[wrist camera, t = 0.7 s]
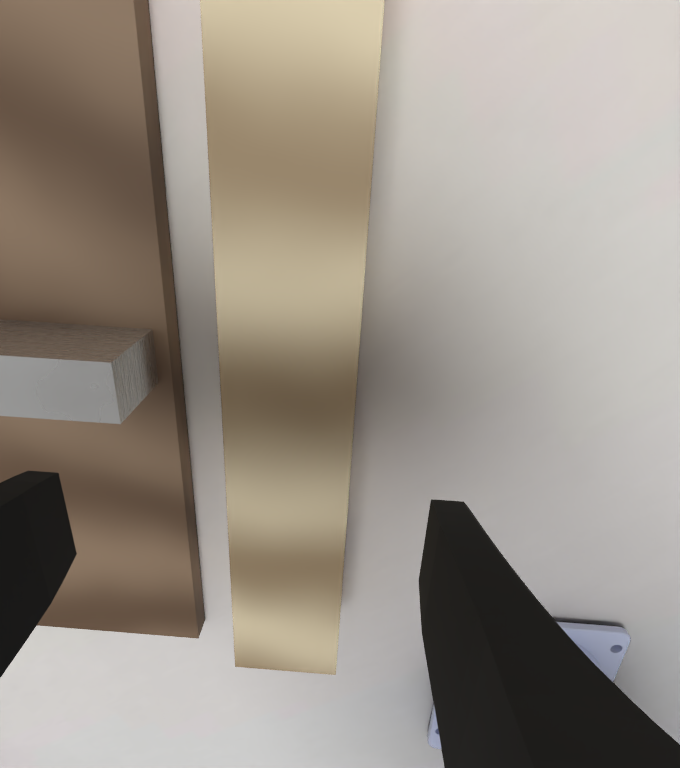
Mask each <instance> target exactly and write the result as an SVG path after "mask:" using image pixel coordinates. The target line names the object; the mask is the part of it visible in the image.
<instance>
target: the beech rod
mask: <svg viewBox="0 0 680 768" xmlns="http://www.w3.org/2000/svg"><path fill="white" fill-rule="evenodd" d="M384 1H385V0H200V7H201V26H202V45H203V64H204V83H205V102H206V121H207V140H208V159H209V178H210V197H211V216H212V235H213V254H214V273H215V292H216V310H217V329H218V348H219V367H220V386H221V405H222V424H223V443H224V462H225V481H226V500H227V519H228V538H229V557H230V576H231V595H232V614H233V633H234V652H235V667H246V668H258V669H270V670H282V671H295V672H307V673H319V674H331V675H336V663H337V649H338V636H339V622H340V608H341V594H342V580H343V567H344V553H345V539H346V525H347V511H348V498H349V484H350V470H351V456H352V442H353V429H354V415H355V401H356V387H357V373H358V360H359V346H360V332H361V318H362V304H363V291H364V277H365V263H366V249H367V235H368V222H369V208H370V194H371V180H372V166H373V153H374V139H375V125H376V111H377V97H378V83H379V70H380V56H381V42H382V28H383V14H384Z"/></svg>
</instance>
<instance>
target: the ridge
mask: <svg viewBox="0 0 680 768" xmlns="http://www.w3.org/2000/svg"><path fill="white" fill-rule="evenodd" d="M158 383H159V382H158V373H157V364H156V356H155V347H154V338H153V329H142V328H126V327H110V326H95V325H79V324H63V323H47V322H31V321H16V320H0V416H10V417H24V418H39V419H53V420H68V421H82V422H97V423H111V424H121V423H122V422H123V421H124V420H125V419H126V418H127V417H128V416H129V414H130V413H131V412H132V411H133V410H134V409H135V408H136V407H137V406H138V405H139V404H140V403H141V401H142V400H143V399H144V398H145V397H146V396H147V395H148V394H149V393H150V392H151V391H152V389H153V388H154V387H155V386H156V385H157V384H158Z"/></svg>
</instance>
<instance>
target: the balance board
mask: <svg viewBox="0 0 680 768" xmlns="http://www.w3.org/2000/svg"><path fill="white" fill-rule="evenodd" d="M0 320H16V321H31V322H47V323H63V324H79V325H95V326H110V327H126V328H142V329H153V338H154V347H155V356H156V364H157V373H158V382H159V383H158V384H157V385H156V386H155V387H154V388H153V389H152V391H151V392H150V393H149V394H148V395H147V396H146V397H145V398H144V399H143V400H142V401H141V403H140V404H139V405H138V406H137V407H136V408H135V409H134V410H133V411H132V412H131V413H130V414H129V416H128V417H127V418H126V419H125V420H124V421H123V422H122V423H121V424H111V423H97V422H82V421H68V420H53V419H39V418H24V417H10V416H0V483H1V482H3V481H5V480H7V479H9V478H11V477H14V476H16V475H18V474H21V473H23V472H26V471H41V472H55V473H59V477H60V482H61V486H62V490H63V495H64V499H65V504H66V508H67V513H68V517H69V521H70V526H71V530H72V535H73V539H74V544H75V548H76V553H77V555H76V557H75V559H74V561H73V563H72V565H71V567H70V569H69V571H68V573H67V575H66V577H65V579H64V581H63V583H62V584H61V586H60V588H59V590H58V592H57V594H56V596H55V597H54V599H53V601H52V603H51V604H50V606H49V607H48V609H47V611H46V612H45V614H44V615H43V617H42V618H41V619H40V621H39V622H38V624H37V625H40V626H53V627H65V628H77V629H90V630H102V631H114V632H127V633H139V634H151V635H164V636H176V637H188V638H199V635H200V632H201V630H202V627H203V624H204V621H205V617H204V606H203V595H202V584H201V573H200V562H199V551H198V540H197V529H196V519H195V508H194V497H193V486H192V475H191V464H190V453H189V442H188V432H187V421H186V410H185V399H184V388H183V377H182V366H181V355H180V344H179V334H178V323H177V312H176V301H175V290H174V279H173V268H172V257H171V247H170V236H169V225H168V214H167V203H166V192H165V181H164V170H163V159H162V149H161V138H160V127H159V116H158V105H157V94H156V83H155V72H154V62H153V51H152V40H151V29H150V18H149V7H148V0H0Z"/></svg>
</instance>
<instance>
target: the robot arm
mask: <svg viewBox="0 0 680 768" xmlns="http://www.w3.org/2000/svg"><path fill="white" fill-rule="evenodd" d="M76 555H77V553H76V548H75V544H74V539H73V535H72V530H71V526H70V521H69V517H68V513H67V508H66V504H65V499H64V495H63V490H62V486H61V482H60V477H59V473H55V472H41V471H26V472H23V473H21V474H18V475H16V476H14V477H11V478H9V479H7V480H5V481H3V482H1V483H0V677H1V676H2V675H3V673H4V672H5V670H6V669H7V667H8V666H9V664H10V663H11V662H12V660H13V659H14V657H15V656H16V654H17V653H18V652H19V650H20V649H21V647H22V646H23V644H24V643H25V641H26V640H27V639H28V637H29V636H30V634H31V633H32V631H33V630H34V628H35V627H36V625H37V624H38V622H39V621H40V619H41V618H42V617H43V615H44V614H45V612H46V611H47V609H48V607H49V606H50V604H51V603H52V601H53V599H54V597H55V596H56V594H57V592H58V590H59V588H60V586H61V584H62V583H63V581H64V579H65V577H66V575H67V573H68V571H69V569H70V567H71V565H72V563H73V561H74V559H75V557H76ZM419 591H420V610H421V625H422V636H423V642H424V648H425V654H426V660H427V666H428V672H429V678H430V684H431V689H432V695H433V701H434V705H433V710H432V715H431V720H430V725H429V730H428V735H427V736H428V744H429V745H430V746H431V747H433V748H437V749H442V754H443V760H444V766H445V768H680V745H679V744H678V743H677V742H676V741H675V740H674V739H673V738H672V737H670V736H669V735H668V734H667V733H666V732H665V731H664V730H663V729H661V728H660V727H659V726H658V725H657V724H656V723H655V722H654V721H653V720H652V719H650V718H649V717H648V716H647V715H646V714H645V713H644V712H643V711H642V710H641V709H640V708H639V707H638V706H637V705H635V704H634V703H633V702H632V701H631V700H630V699H629V698H628V697H627V696H626V695H625V694H624V693H623V692H622V691H621V690H620V689H619V688H618V687H617V686H616V685H615V684H614V683H613V681H614V679H615V677H616V674H617V672H618V669H619V667H620V665H621V662H622V660H623V657H624V655H625V653H626V650H627V648H628V645H629V643H630V639H631V638H630V636H629V634H628V632H627V630H626V629H624V628H622V627H617V626H605V625H592V624H579V623H566V622H556V621H555V620H554V619H553V618H552V616H551V615H550V614H549V613H548V612H547V611H546V609H545V608H544V607H543V606H542V605H541V603H540V602H539V601H538V600H537V599H536V597H535V596H534V595H533V594H532V592H531V591H530V590H529V589H528V587H527V586H526V585H525V584H524V582H523V581H522V580H521V579H520V577H519V576H518V575H517V574H516V572H515V571H514V570H513V569H512V567H511V566H510V565H509V563H508V562H507V561H506V559H505V558H504V557H503V555H502V554H501V553H500V551H499V550H498V549H497V547H496V546H495V544H494V543H493V542H492V540H491V539H490V538H489V536H488V535H487V533H486V532H485V531H484V529H483V528H482V526H481V525H480V523H479V522H478V521H477V519H476V518H475V516H474V515H473V513H472V512H471V511H470V509H469V508H468V506H467V505H466V504H465V503H464V502H459V501H445V500H431V504H430V510H429V517H428V523H427V530H426V537H425V543H424V550H423V556H422V563H421V569H420V576H419Z"/></svg>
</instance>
